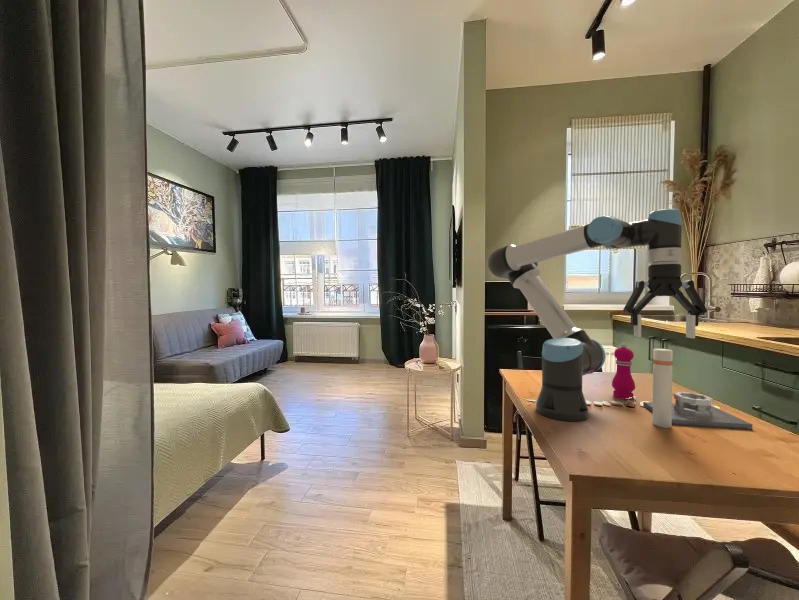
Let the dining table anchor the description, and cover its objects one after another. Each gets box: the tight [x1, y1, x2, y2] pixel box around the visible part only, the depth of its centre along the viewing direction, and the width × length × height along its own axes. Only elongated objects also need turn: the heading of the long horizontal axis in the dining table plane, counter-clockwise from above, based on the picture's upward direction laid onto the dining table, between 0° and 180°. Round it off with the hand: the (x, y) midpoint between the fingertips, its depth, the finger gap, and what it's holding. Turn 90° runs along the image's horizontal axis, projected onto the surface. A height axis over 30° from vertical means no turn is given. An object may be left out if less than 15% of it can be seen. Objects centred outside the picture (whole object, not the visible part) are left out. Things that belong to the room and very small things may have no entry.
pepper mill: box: [611, 343, 636, 400], centre depth 124 cm, size 7×7×20 cm
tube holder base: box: [642, 391, 753, 430], centre depth 104 cm, size 20×16×6 cm
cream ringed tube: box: [652, 348, 674, 429], centre depth 98 cm, size 4×4×22 cm
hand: (663, 337), depth 97 cm, fingers open, 13 cm apart
